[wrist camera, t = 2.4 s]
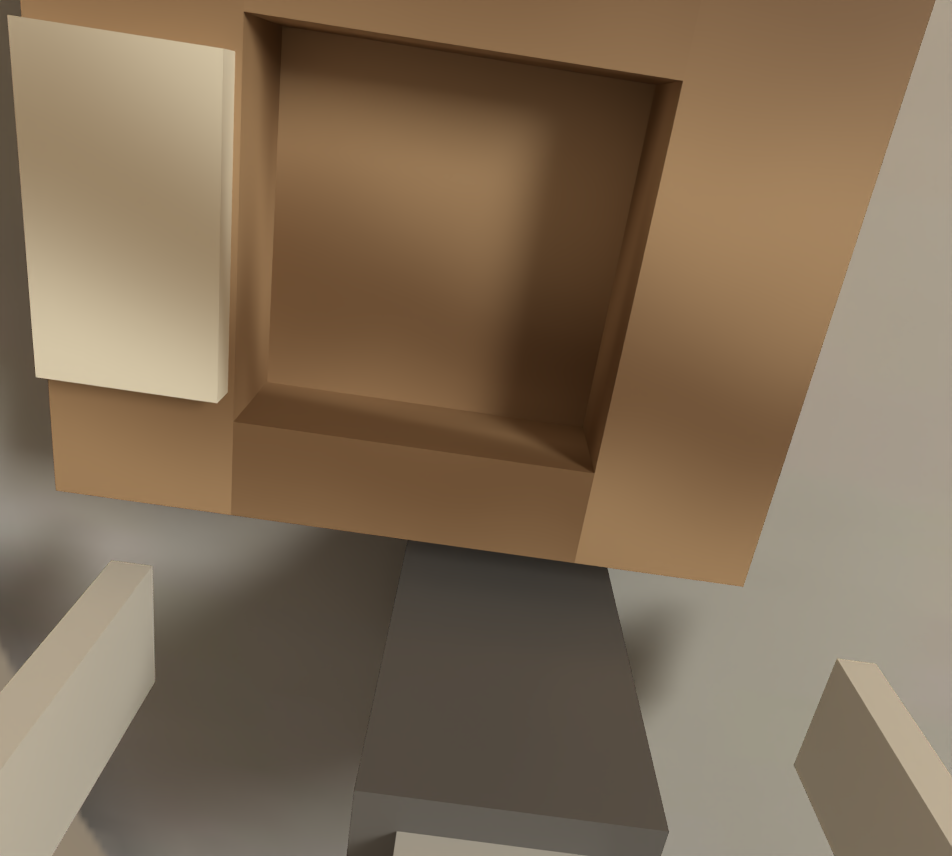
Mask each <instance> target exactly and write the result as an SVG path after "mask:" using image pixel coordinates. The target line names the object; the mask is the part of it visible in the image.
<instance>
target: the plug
mask: <svg viewBox="0 0 952 856" xmlns="http://www.w3.org/2000/svg"><path fill="white" fill-rule="evenodd" d="M668 833H669V830H668V826H667V822H666V817H665V813H664V809H663V804H662V800H661V796H660V792H659V787H658V783H657V779H656V774H655V770H654V766H653V762H652V757H651V753H650V749H649V745H648V740H647V736H646V732H645V727H644V723H643V719H642V715H641V710H640V706H639V702H638V697H637V693H636V689H635V685H634V680H633V676H632V672H631V668H630V663H629V659H628V655H627V650H626V646H625V642H624V638H623V633H622V629H621V625H620V620H619V616H618V612H617V608H616V603H615V599H614V595H613V591H612V586H611V582H610V578H609V573H608V569H607V568H606V567H599V566H592V565H585V564H578V563H571V562H564V561H557V560H549V559H542V558H535V557H528V556H521V555H514V554H507V553H499V552H492V551H485V550H478V549H471V548H464V547H457V546H449V545H442V544H435V543H428V542H421V541H414V540H408V542H407V547H406V551H405V556H404V561H403V565H402V570H401V575H400V579H399V584H398V589H397V593H396V598H395V602H394V607H393V612H392V616H391V621H390V626H389V630H388V635H387V640H386V644H385V649H384V654H383V658H382V663H381V668H380V672H379V677H378V682H377V686H376V691H375V695H374V700H373V705H372V709H371V714H370V719H369V723H368V728H367V733H366V737H365V742H364V747H363V751H362V756H361V761H360V765H359V770H358V774H357V779H356V784H355V788H354V795H353V804H352V813H351V822H350V831H349V840H348V849H347V856H661V854H662V851H663V848H664V845H665V842H666V839H667V836H668Z"/></svg>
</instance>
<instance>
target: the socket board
mask: <svg viewBox="0 0 952 856" xmlns="http://www.w3.org/2000/svg"><path fill="white" fill-rule="evenodd" d="M934 3H935V0H20V4H21V17H19V16H12V15H7V19H8V31H9V44H10V57H11V69H12V82H13V95H14V107H15V120H16V133H17V145H18V158H19V171H20V183H21V196H22V209H23V221H24V234H25V247H26V259H27V272H28V285H29V297H30V310H31V322H32V335H33V348H34V360H35V373H36V377H38V378H45V379H48V388H49V402H50V416H51V430H52V443H53V457H54V471H55V485H56V490H57V491H64V492H71V493H78V494H85V495H92V496H99V497H107V498H114V499H121V500H128V501H135V502H142V503H149V504H157V505H164V506H171V507H178V508H185V509H192V510H199V511H207V512H214V513H221V514H228V515H235V516H242V517H249V518H257V519H264V520H271V521H278V522H285V523H292V524H299V525H307V526H314V527H321V528H328V529H335V530H342V531H349V532H357V533H364V534H371V535H378V536H385V537H392V538H399V539H407V540H414V541H421V542H428V543H435V544H442V545H449V546H457V547H464V548H471V549H478V550H485V551H492V552H499V553H507V554H514V555H521V556H528V557H535V558H542V559H549V560H557V561H564V562H571V563H578V564H585V565H592V566H599V567H606V568H614V569H621V570H628V571H635V572H642V573H649V574H656V575H664V576H671V577H678V578H685V579H692V580H699V581H706V582H714V583H721V584H728V585H735V586H742V587H743V586H744V583H745V580H746V576H747V573H748V570H749V567H750V564H751V561H752V558H753V555H754V552H755V549H756V546H757V543H758V540H759V537H760V534H761V531H762V528H763V525H764V522H765V519H766V515H767V512H768V509H769V506H770V503H771V500H772V497H773V494H774V491H775V488H776V485H777V482H778V479H779V476H780V473H781V470H782V467H783V464H784V461H785V458H786V454H787V451H788V448H789V445H790V442H791V439H792V436H793V433H794V430H795V427H796V424H797V421H798V418H799V415H800V412H801V409H802V406H803V403H804V400H805V397H806V393H807V390H808V387H809V384H810V381H811V378H812V375H813V372H814V369H815V366H816V363H817V360H818V357H819V354H820V351H821V348H822V345H823V342H824V339H825V336H826V332H827V329H828V326H829V323H830V320H831V317H832V314H833V311H834V308H835V305H836V302H837V299H838V296H839V293H840V290H841V287H842V284H843V281H844V278H845V275H846V271H847V268H848V265H849V262H850V259H851V256H852V253H853V250H854V247H855V244H856V241H857V238H858V235H859V232H860V229H861V226H862V223H863V220H864V217H865V214H866V211H867V207H868V204H869V201H870V198H871V195H872V192H873V189H874V186H875V183H876V180H877V177H878V174H879V171H880V168H881V165H882V162H883V159H884V156H885V153H886V150H887V146H888V143H889V140H890V137H891V134H892V131H893V128H894V125H895V122H896V119H897V116H898V113H899V110H900V107H901V104H902V101H903V98H904V95H905V92H906V89H907V85H908V82H909V79H910V76H911V73H912V70H913V67H914V64H915V61H916V58H917V55H918V52H919V49H920V46H921V43H922V40H923V37H924V34H925V31H926V28H927V24H928V21H929V18H930V15H931V12H932V9H933V6H934Z"/></svg>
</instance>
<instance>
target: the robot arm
mask: <svg viewBox="0 0 952 856" xmlns="http://www.w3.org/2000/svg"><path fill="white" fill-rule="evenodd" d="M154 683H155V650H154V608H153V566H150V565H142V564H135V563H127V562H120V561H113V560H111V561H110V563H109V564H108V565H107V566H106V567H105V568H104V570H103V571H102V572H101V573H100V574H99V576H98V577H97V578H96V579H95V580H94V582H93V583H92V584H91V585H90V586H89V587H88V589H87V590H86V591H85V592H84V593H83V595H82V596H81V597H80V598H79V599H78V600H77V602H76V603H75V604H74V605H73V606H72V608H71V609H70V610H69V611H68V612H67V614H66V615H65V616H64V617H63V618H62V619H61V621H60V622H59V623H58V624H57V625H56V627H55V628H54V629H53V630H52V631H51V632H50V634H49V635H48V636H47V637H46V638H45V640H44V641H43V642H42V643H41V644H40V646H39V647H38V648H37V649H36V650H35V651H34V653H33V654H32V655H31V656H30V657H29V659H28V660H27V661H26V662H25V663H24V664H23V666H22V667H21V668H20V669H19V670H18V672H17V673H16V674H15V675H14V676H13V678H12V679H11V680H10V681H9V682H8V684H7V685H6V686H5V687H4V688H3V689H2V691H1V692H0V856H52V855H53V854H54V852H55V850H56V848H57V846H58V845H59V843H60V842H61V840H62V838H63V837H64V835H65V833H66V832H67V830H68V828H69V826H70V825H71V823H72V821H73V820H74V818H75V816H76V815H77V813H78V811H79V810H80V808H81V806H82V805H83V803H84V801H85V799H86V798H87V796H88V794H89V793H90V791H91V789H92V788H93V786H94V784H95V783H96V781H97V779H98V777H99V776H100V774H101V772H102V771H103V769H104V767H105V766H106V764H107V762H108V761H109V759H110V757H111V755H112V754H113V752H114V750H115V749H116V747H117V745H118V744H119V742H120V740H121V739H122V737H123V735H124V733H125V732H126V730H127V728H128V727H129V725H130V723H131V722H132V720H133V718H134V717H135V715H136V713H137V712H138V710H139V708H140V706H141V705H142V703H143V701H144V700H145V698H146V696H147V695H148V693H149V691H150V690H151V688H152V686H153V684H154ZM794 766H795V769H796V771H797V773H798V775H799V778H800V780H801V782H802V784H803V787H804V789H805V791H806V793H807V796H808V798H809V800H810V802H811V805H812V807H813V809H814V811H815V813H816V816H817V818H818V820H819V822H820V825H821V827H822V829H823V831H824V834H825V836H826V838H827V840H828V843H829V845H830V847H831V849H832V852H833V854H834V856H952V776H951V775H950V773H949V772H948V770H947V769H946V767H945V766H944V764H943V763H942V761H941V760H940V758H939V757H938V755H937V754H936V752H935V751H934V749H933V748H932V746H931V745H930V743H929V742H928V741H927V739H926V738H925V736H924V735H923V733H922V732H921V730H920V729H919V727H918V726H917V724H916V723H915V721H914V720H913V718H912V717H911V715H910V714H909V712H908V711H907V709H906V708H905V706H904V705H903V703H902V702H901V700H900V699H899V697H898V696H897V694H896V693H895V691H894V690H893V689H892V687H891V686H890V684H889V683H888V681H887V680H886V678H885V677H884V675H883V674H882V672H881V671H880V669H879V668H878V666H877V665H876V664H874V663H867V662H859V661H852V660H844V659H837V660H836V662H835V665H834V667H833V670H832V672H831V675H830V677H829V680H828V682H827V684H826V687H825V689H824V692H823V694H822V697H821V699H820V702H819V704H818V707H817V709H816V712H815V714H814V716H813V719H812V721H811V724H810V726H809V729H808V731H807V734H806V736H805V739H804V741H803V744H802V746H801V748H800V751H799V753H798V756H797V758H796V761H795V763H794Z"/></svg>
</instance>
